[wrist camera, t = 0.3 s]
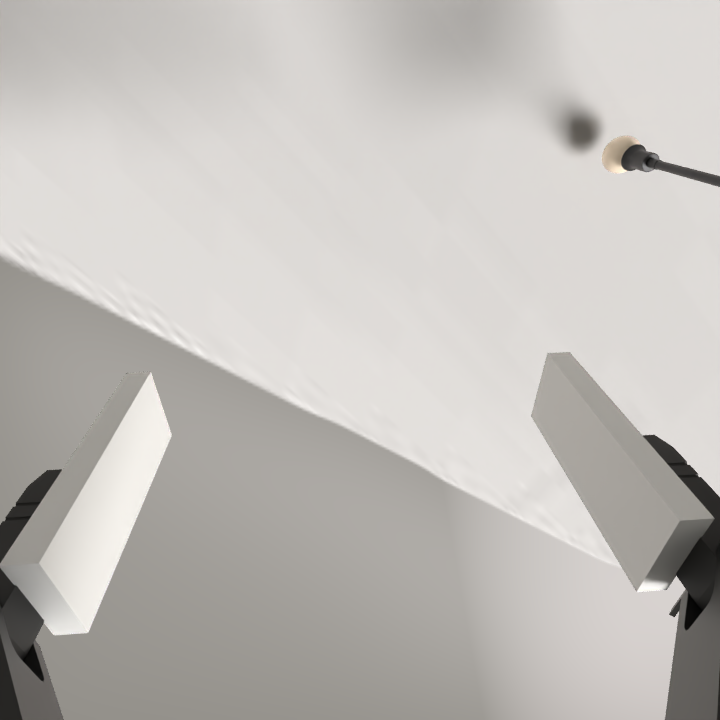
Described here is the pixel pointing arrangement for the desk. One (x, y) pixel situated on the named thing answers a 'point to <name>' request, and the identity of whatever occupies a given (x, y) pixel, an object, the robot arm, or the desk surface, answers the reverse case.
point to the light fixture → (645, 161)
